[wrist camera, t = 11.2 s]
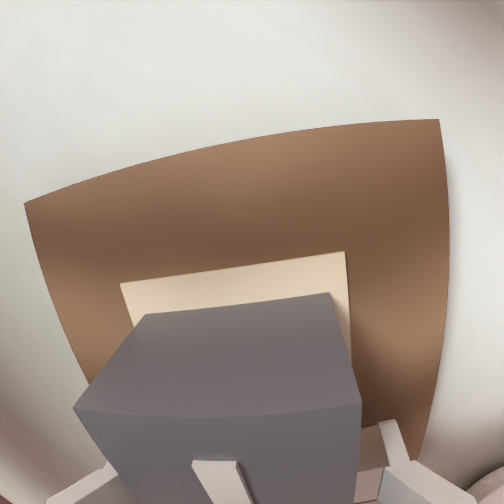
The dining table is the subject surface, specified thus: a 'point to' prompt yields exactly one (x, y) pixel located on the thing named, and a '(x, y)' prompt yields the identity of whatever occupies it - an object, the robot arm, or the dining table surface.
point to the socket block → (231, 406)
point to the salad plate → (489, 488)
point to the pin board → (268, 248)
